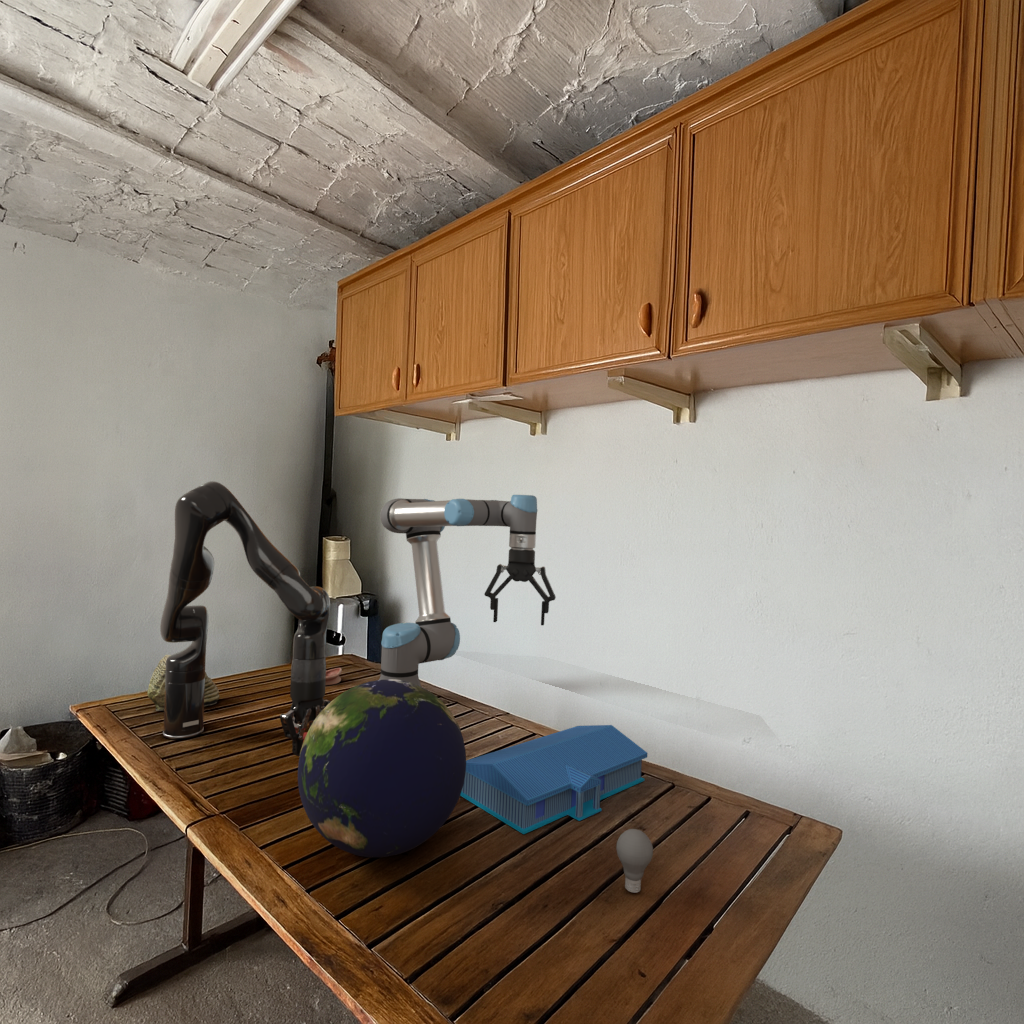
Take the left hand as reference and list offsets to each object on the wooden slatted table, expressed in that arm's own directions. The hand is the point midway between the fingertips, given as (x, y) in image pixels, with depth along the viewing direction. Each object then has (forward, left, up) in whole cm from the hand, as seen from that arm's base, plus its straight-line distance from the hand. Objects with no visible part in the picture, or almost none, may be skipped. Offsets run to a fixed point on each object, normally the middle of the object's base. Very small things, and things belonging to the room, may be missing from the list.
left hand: (305, 751), depth 143 cm
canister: (0, 0, -1) cm, 1 cm away
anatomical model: (-64, +36, -6) cm, 74 cm away
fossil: (-64, -7, -6) cm, 65 cm away
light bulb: (+73, +23, -6) cm, 77 cm away
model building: (+41, +41, -6) cm, 58 cm away
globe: (+36, -2, -6) cm, 36 cm away
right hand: (+5, +61, +24) cm, 66 cm away
